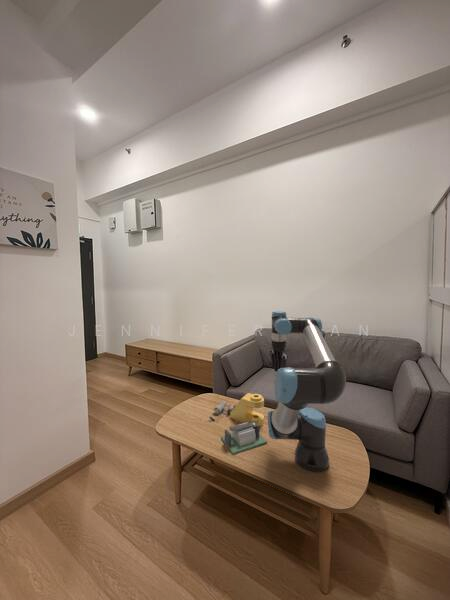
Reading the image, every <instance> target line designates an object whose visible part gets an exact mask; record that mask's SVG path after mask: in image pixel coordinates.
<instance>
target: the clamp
mask: <svg viewBox="0 0 450 600" xmlns="http://www.w3.org/2000/svg"><path fill="white" fill-rule="evenodd" d="M264 406H265V399H264V397H263V396H262V395H261V393H260V394H259V393H250V392H248V393H246V394H245V395H244V396H242V397H241V398H240V399H239V401H238V402H237V404H235V407H234V409H233V410H232V411H231V412H229V416H230V417H229V418H230V419H232V420H236V421H238V422H241V423H246V422H248V423H251V421H252V422H253V421H255V422H256V423H257V424H258V425H259V427H261V426H263V425H264V423H265V416H264V414H262V413H260V412H257V411H254V409H261V408H263V407H264Z"/></svg>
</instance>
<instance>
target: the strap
mask: <svg viewBox="0 0 450 600" xmlns="http://www.w3.org/2000/svg"><path fill="white" fill-rule="evenodd" d="M240 424H241V425H239V424H236V425H231V426H229V427H228V428H229V430H230V431H231V432H232V431H235V430H240V429H245V428H250V427H251V428H252V427H256V425H255V424H254V423H253V422H252V421H251V423H246V424H243V423H240Z"/></svg>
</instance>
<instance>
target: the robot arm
mask: <svg viewBox="0 0 450 600" xmlns="http://www.w3.org/2000/svg"><path fill="white" fill-rule="evenodd" d="M322 331H323V324H322V320H321V319H320V318H318V317H287V313H286V311H281V310H275V311H272V313H271V348H272V349H271V350H269V353H270V358H271V367H272V369H274V377H275V379H274V385H273V386H274V395H275V399H276V400H277V402H278V404H277V407H276V408H275V409H274V410H270V411H267V427H268V436H269V438H271V439H274V440H291V441H292V440H295V441H298V443H297V444H296V448H295V450H294V459H295V461H296V463H297V464H298V465H299V466H300V467H301V468H304V469H305V470H307V471H311V472H323V471H325V470H327V469H328V468H329V466H330V458H329V455H328V451H327V448H326V432H327V431H326V430H327V423H326V421H327V420H326V417H325V415H324V413H322V412H320V410H317V409H315V408H311V407H308V406H309V404H310V405H311V404H314V405H315V404H317V405H318V404H319V405H320V404H321V405H327V404H328V405H329V404H331V403H334V402H336V401H337V400H338V399H340V398H341V396H342V395H343V394H344V391H345V389H346V387H347V386H346V385H347V382H346V381H347V377H346V373H345V370H344V368H343V366H342V364H341V363H340V362H339V361H337V360H336V359H335V357H334V355H333V353H332V352H331V349H330V348H329V345H328V343H327V342H326V340H325V338H324V336H323V334H322ZM287 334H303V336H304V337H303V338H304V339H305V342H306V345H307V346H308V350H309V353H310V355H311V357H312V360H313V362H314V365H315V368H314V367H292V366H291V367H290V366H286V365H287V360H288V358H289V356H288V355H286V352H285V349H286V348H287V341H286V340H287Z"/></svg>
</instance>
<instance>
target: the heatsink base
mask: <svg viewBox="0 0 450 600" xmlns="http://www.w3.org/2000/svg"><path fill="white" fill-rule="evenodd" d="M246 423H248V422H246ZM246 423H244V422H242V423H239V424H238V425H241V424H246ZM253 423H254V424H255V425H256V427H250V428H245V429H240V430H235V431H231V432H230V431H229V430H228V429H227V428H226V429H224V435H221V436H220V439H221V440H222V442H223V443H224V444H225V446H226V447H227V449H228V450H229V451H230V453H231V454H232V455H236V454H239V453H242V452H244V451H248V450H251V449H254V448H257V447H260V446H263V445H266V444H268V440H266V438H265V437H263V436H262V435H261V434H260V426H259V425H258V424H257V423H256V422H255V421H253Z"/></svg>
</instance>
